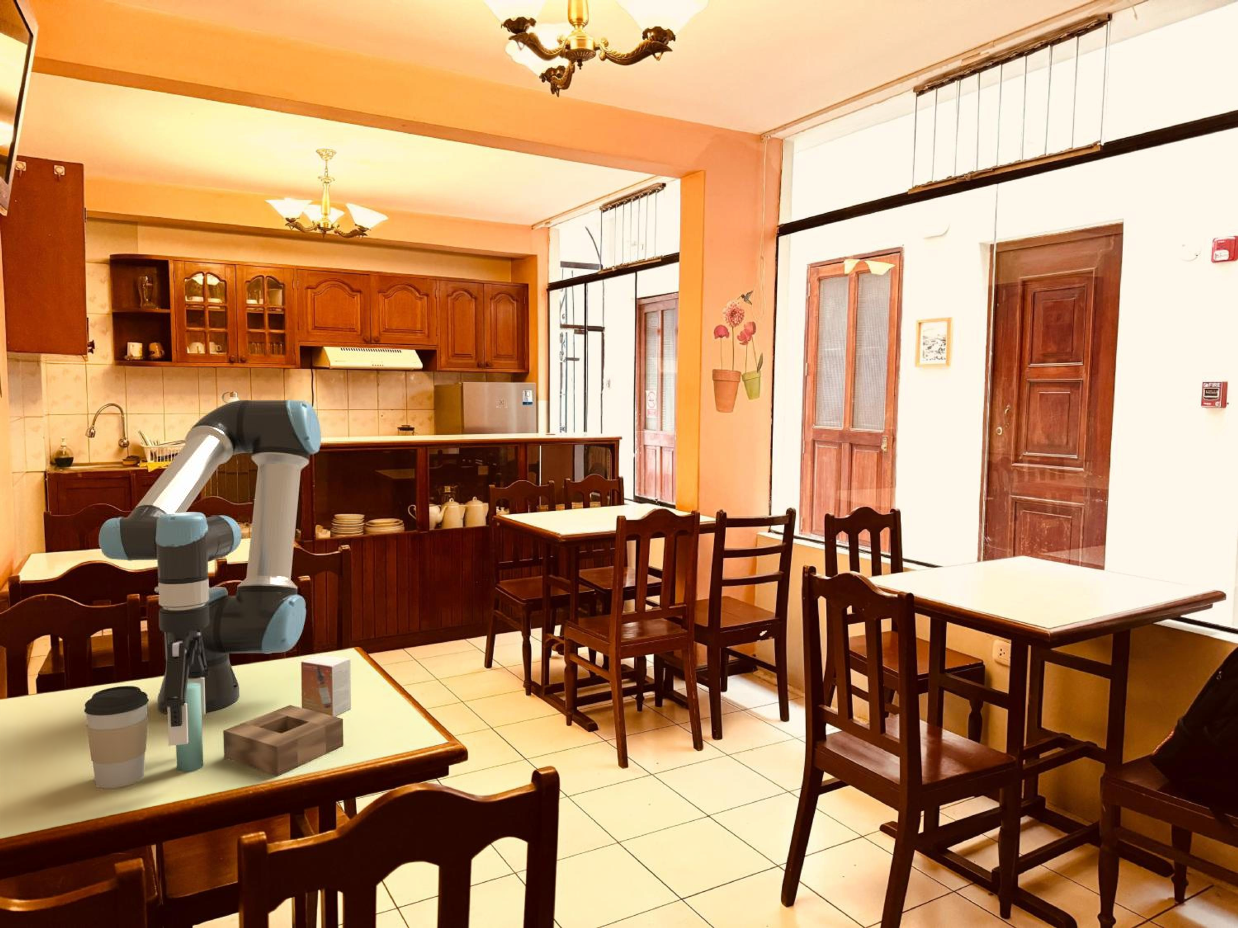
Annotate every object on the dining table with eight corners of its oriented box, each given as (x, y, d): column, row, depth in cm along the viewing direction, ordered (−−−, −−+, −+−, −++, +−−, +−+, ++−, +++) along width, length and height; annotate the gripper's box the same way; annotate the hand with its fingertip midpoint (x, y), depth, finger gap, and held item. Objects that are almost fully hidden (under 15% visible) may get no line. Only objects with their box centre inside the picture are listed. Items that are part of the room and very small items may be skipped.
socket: (224, 758, 144) (223, 730, 144) (290, 730, 156) (290, 704, 156) (278, 775, 137) (277, 746, 137) (343, 745, 150) (342, 718, 149)
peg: (171, 768, 140) (168, 688, 139) (193, 759, 143) (190, 681, 142) (186, 773, 138) (183, 692, 137) (208, 764, 141) (205, 685, 140)
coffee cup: (106, 767, 140) (102, 681, 139) (161, 765, 141) (158, 680, 140) (75, 792, 131) (71, 700, 130) (135, 790, 132) (131, 699, 131)
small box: (301, 712, 165) (299, 661, 165) (320, 703, 171) (319, 653, 170) (332, 718, 162) (331, 666, 162) (352, 708, 168) (350, 657, 167)
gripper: (177, 590, 150) (180, 705, 151) (138, 624, 126) (142, 760, 127) (222, 588, 152) (225, 701, 153) (192, 621, 128) (196, 755, 129)
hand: (188, 728), depth 140 cm, fingers open, 13 cm apart
